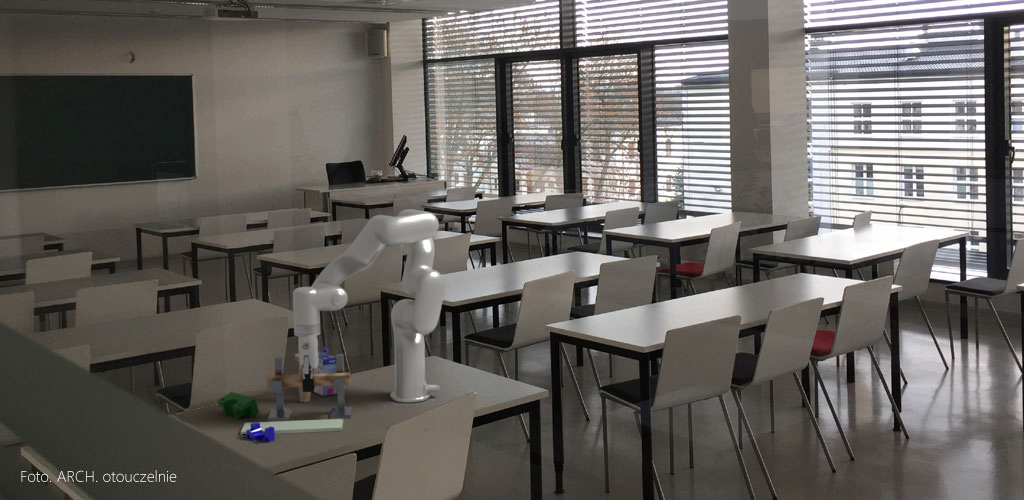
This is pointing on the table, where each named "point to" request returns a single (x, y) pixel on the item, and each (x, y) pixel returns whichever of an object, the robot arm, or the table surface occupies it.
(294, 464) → the table surface
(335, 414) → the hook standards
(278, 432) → the board
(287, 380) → the rail
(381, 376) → the table surface
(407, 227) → the robot arm
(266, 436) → the cable holder
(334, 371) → the ink cartridge box
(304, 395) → the handle
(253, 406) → the clamp
